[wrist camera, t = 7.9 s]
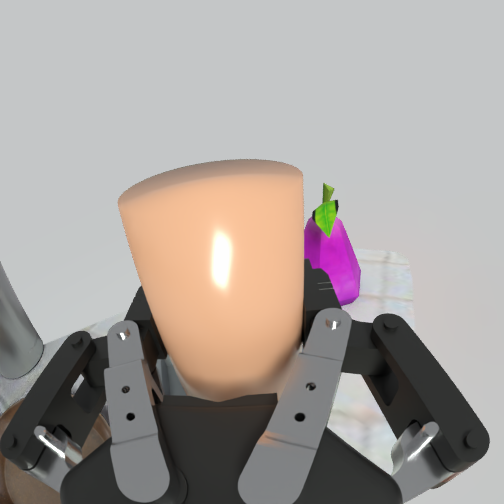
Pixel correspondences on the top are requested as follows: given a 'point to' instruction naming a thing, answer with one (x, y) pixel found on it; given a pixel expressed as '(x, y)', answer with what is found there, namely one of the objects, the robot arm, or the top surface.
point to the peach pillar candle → (222, 271)
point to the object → (26, 487)
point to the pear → (332, 249)
